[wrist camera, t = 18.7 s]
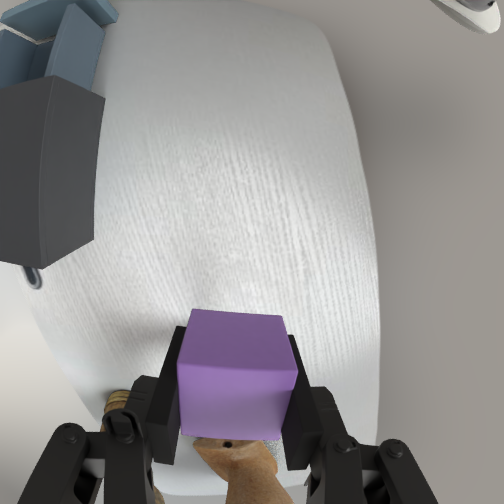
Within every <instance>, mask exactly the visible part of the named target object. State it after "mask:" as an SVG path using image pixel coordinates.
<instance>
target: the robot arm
mask: <svg viewBox="0 0 504 504" xmlns="http://www.w3.org/2000/svg"><path fill="white" fill-rule="evenodd" d="M456 1H457V2H459V3H460V4H461V5H463V6H465V7H466V8H468V9H470V10H473V11H476V12H483V11H485V10H487V9H489V8H490V7H492V6H493V4H494V3H495V1H496V0H456ZM186 328H187V327H183V326H176V329H175V332H174V334H173V337H172V340H171V343H170V346H169V349H168V352H167V355H166V358H165V361H164V364H163V367H162V370H161V373H160V376H159V378H157V377H151V376H145V375H141V376H140V377H139V378H138V379H137V380H136V381H134V384H133V386H132V388H131V391H130V393H129V396H128V398H127V401H126V403H125V406H124V408H117V409H112V410H110V411H108V412H107V413H106V414H105V415H104V416H103V419H102V422H103V425H104V428H105V431H103V432H86V431H85V430H84V429H83V428H82V427H81V426H80V425H78V424H75V423H64V424H62V425H60V426H59V427H58V428H57V429H56V430H55V432H54V433H53V435H52V437H51V439H50V441H49V442H48V444H47V446H46V448H45V450H44V451H43V453H42V455H41V457H40V459H39V461H38V463H37V465H36V466H35V469H34V470H33V473H32V474H31V476H30V478H29V480H28V482H27V484H26V486H25V488H24V491H23V493H22V495H21V497H20V499H19V501H18V503H17V504H94V503H95V500H96V497H97V494H98V491H99V488H100V485H101V482H102V479H103V478H104V504H156V501H155V493H154V483H153V472H152V468H151V463H152V459H154V462H157V463H162V464H169V465H173V464H174V458H175V452H176V446H177V440H178V435H179V429H180V413H179V398H178V381H177V360H178V356H179V353H180V349H181V346H182V342H183V339H184V335H185V332H186ZM288 338H289V342H290V345H291V348H292V352H293V355H294V359H295V362H296V365H297V369H298V374H297V378H296V382H295V386H294V389H293V390H292V394H291V397H290V401H289V405H288V408H287V412H286V415H285V419H284V422H283V425H282V429H281V434H282V440H283V446H284V452H285V458H286V464H287V469H288V471H291V470H305V469H307V467H308V465H309V463H310V467H311V473H310V474H309V476H308V478H307V480H306V481H305V484H304V486H307V485H308V491H307V502H306V504H438V502H437V500H436V498H435V496H434V494H433V492H432V491H431V488H430V487H429V485H428V483H427V481H426V479H425V477H424V475H423V473H422V472H421V470H420V468H419V466H418V464H417V463H416V461H415V459H414V457H413V455H412V453H411V452H410V450H409V448H408V447H407V445H406V444H405V443H403V442H402V441H400V440H396V439H388V440H386V441H383V443H382V444H381V445H380V446H371V445H364V444H360V443H358V441H357V440H356V439H355V438H354V437H352V436H350V435H348V433H347V431H346V428H345V426H344V423H343V421H342V418H341V416H340V413H339V410H338V408H337V405H336V403H335V400H334V398H333V395H332V393H331V392H330V391H329V390H328V389H327V388H326V387H325V386H323V387H310V384H309V381H308V378H307V375H306V372H305V369H304V366H303V363H302V360H301V357H300V353H299V350H298V347H297V344H296V341H295V338H294V335H288Z"/></svg>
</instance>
